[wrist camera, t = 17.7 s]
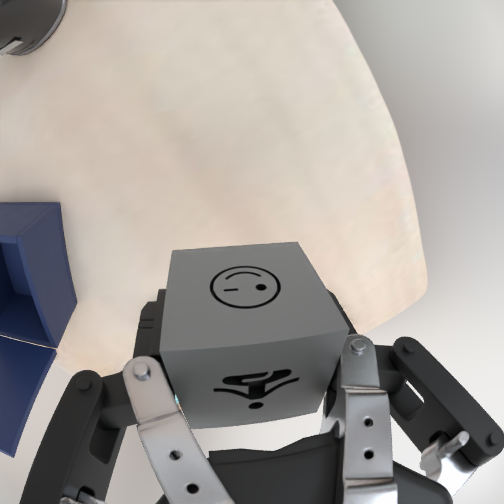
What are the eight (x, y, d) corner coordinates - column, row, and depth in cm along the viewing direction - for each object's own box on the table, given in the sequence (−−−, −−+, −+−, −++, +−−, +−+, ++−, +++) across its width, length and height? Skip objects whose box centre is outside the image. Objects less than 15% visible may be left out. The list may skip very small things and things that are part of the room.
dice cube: (297, 241, 11) (349, 328, 7) (286, 328, 14) (316, 412, 10) (172, 250, 11) (159, 350, 6) (188, 338, 13) (190, 428, 9)
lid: (-63, 409, 8) (-41, 437, 9) (10, 454, 10) (34, 477, 12) (-12, 331, 22) (0, 360, 24) (55, 349, 24) (66, 378, 26)
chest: (-7, 202, 23) (-47, 232, 16) (60, 202, 26) (21, 236, 18) (15, 293, 30) (-10, 332, 22) (77, 302, 32) (57, 348, 25)
